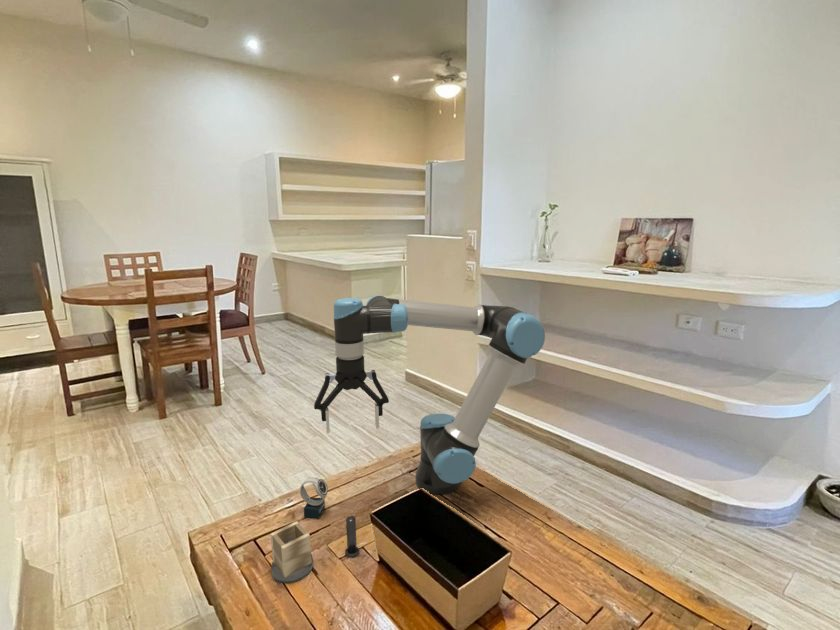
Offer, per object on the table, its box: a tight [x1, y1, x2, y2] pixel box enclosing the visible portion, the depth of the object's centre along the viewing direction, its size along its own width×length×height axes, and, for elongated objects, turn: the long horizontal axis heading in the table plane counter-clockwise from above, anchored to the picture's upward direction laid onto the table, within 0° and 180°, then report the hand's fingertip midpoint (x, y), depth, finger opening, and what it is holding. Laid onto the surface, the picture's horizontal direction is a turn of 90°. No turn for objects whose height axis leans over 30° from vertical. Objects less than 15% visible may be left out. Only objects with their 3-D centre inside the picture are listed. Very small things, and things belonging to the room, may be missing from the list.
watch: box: [299, 477, 329, 520], centre depth 131 cm, size 6×8×11 cm
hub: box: [270, 538, 314, 584], centre depth 110 cm, size 10×10×8 cm
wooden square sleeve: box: [270, 521, 312, 578], centre depth 110 cm, size 7×7×8 cm
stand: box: [344, 515, 360, 559], centre depth 115 cm, size 4×4×10 cm
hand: (353, 428), depth 123 cm, fingers open, 13 cm apart
